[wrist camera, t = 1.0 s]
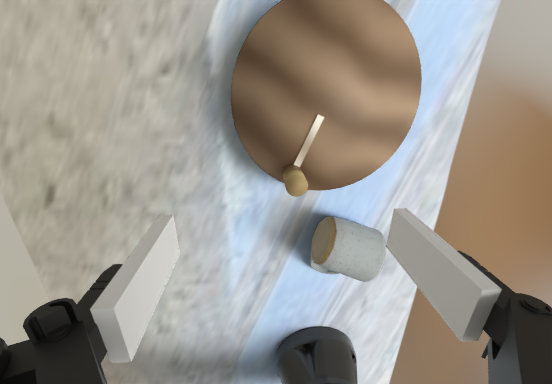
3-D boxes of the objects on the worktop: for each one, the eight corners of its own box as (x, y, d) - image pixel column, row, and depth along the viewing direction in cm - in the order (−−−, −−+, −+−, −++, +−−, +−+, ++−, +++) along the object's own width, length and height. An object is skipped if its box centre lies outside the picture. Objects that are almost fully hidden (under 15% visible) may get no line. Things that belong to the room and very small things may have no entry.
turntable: (278, -55, 24) (283, -94, 19) (449, 50, 28) (493, 42, 23) (207, 148, 31) (197, 162, 26) (353, 206, 36) (370, 228, 30)
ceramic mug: (324, 204, 37) (338, 234, 30) (372, 219, 39) (397, 251, 32) (296, 260, 41) (304, 297, 34) (341, 272, 43) (357, 310, 36)
